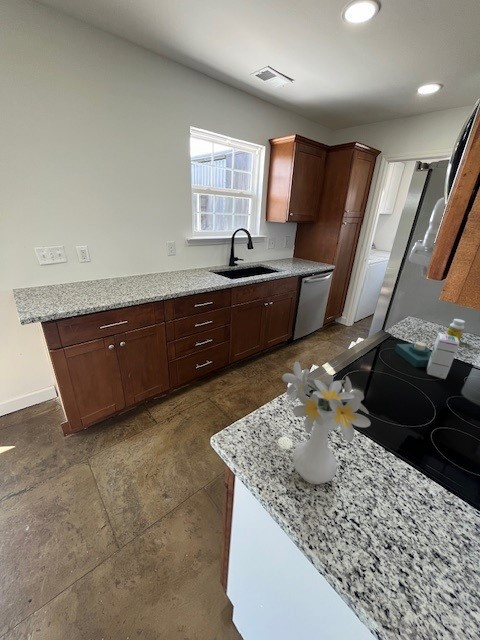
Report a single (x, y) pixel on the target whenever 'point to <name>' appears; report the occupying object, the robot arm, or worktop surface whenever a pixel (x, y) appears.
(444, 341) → the syrup box
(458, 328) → the supplement bottle
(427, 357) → the cap block
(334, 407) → the flower vase
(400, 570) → the worktop surface
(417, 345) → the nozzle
